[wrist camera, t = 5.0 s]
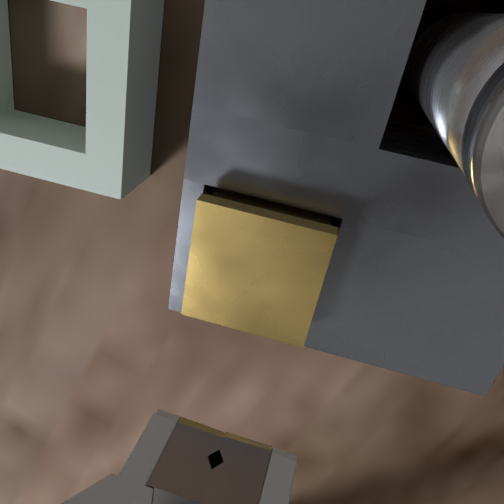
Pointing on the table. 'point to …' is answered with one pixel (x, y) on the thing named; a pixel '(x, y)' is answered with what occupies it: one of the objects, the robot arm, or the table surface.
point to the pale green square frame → (93, 104)
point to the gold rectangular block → (257, 265)
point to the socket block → (349, 181)
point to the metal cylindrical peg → (466, 98)
